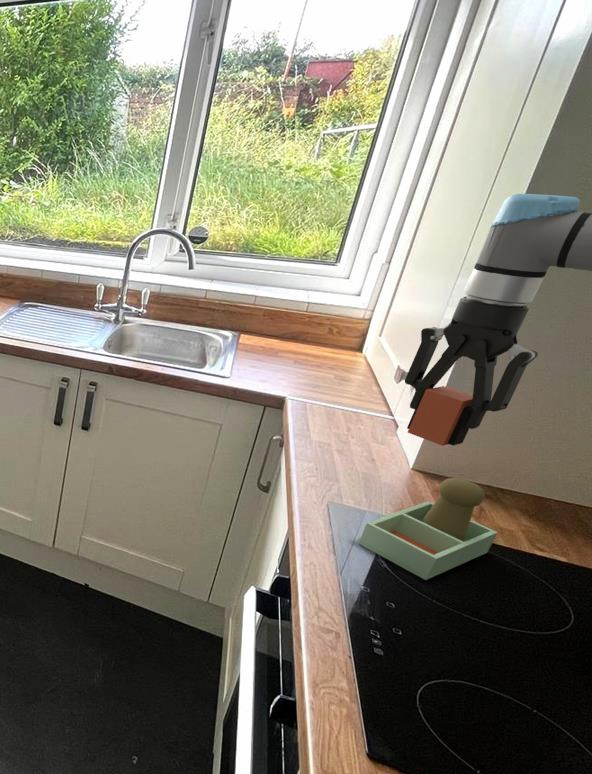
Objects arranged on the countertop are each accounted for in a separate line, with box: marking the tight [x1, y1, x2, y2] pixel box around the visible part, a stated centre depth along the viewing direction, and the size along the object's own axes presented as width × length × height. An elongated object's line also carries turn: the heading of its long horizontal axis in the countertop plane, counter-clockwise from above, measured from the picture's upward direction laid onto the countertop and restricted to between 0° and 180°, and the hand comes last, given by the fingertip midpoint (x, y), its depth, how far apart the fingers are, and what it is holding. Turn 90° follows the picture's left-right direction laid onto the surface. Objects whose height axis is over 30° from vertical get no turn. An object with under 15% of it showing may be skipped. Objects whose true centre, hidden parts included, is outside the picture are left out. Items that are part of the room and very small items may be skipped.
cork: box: [421, 477, 486, 542], centre depth 95 cm, size 6×6×11 cm
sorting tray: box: [357, 500, 499, 581], centre depth 95 cm, size 18×9×4 cm, turn 113°
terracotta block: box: [407, 385, 473, 447], centre depth 96 cm, size 5×5×8 cm
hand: (434, 435), depth 97 cm, fingers closed on terracotta block, 5 cm apart
